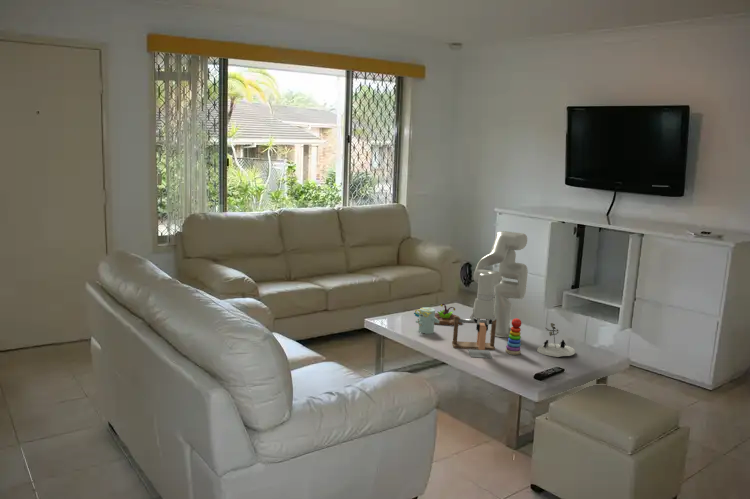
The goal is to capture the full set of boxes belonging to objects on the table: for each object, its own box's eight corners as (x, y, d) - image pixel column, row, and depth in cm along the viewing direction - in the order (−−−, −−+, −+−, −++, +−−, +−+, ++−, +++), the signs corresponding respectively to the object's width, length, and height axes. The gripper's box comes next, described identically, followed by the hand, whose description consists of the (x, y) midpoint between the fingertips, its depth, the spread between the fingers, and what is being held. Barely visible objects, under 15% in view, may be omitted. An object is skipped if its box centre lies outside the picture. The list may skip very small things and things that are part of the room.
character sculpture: (405, 329, 368) (406, 306, 365) (418, 326, 375) (420, 304, 373) (430, 338, 353) (432, 314, 351) (444, 334, 361) (445, 311, 359)
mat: (489, 351, 336) (489, 350, 336) (492, 358, 325) (492, 357, 325) (468, 350, 336) (468, 349, 336) (470, 357, 325) (470, 356, 325)
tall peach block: (482, 344, 333) (484, 322, 331) (484, 349, 326) (486, 327, 324) (476, 344, 334) (478, 322, 331) (478, 349, 326) (480, 327, 324)
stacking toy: (511, 356, 330) (515, 321, 327) (502, 351, 337) (505, 317, 334) (523, 354, 333) (527, 319, 330) (513, 349, 340) (516, 315, 337)
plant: (425, 316, 398) (426, 299, 396) (456, 317, 400) (457, 299, 398) (432, 326, 378) (433, 307, 376) (464, 326, 380) (465, 308, 378)
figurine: (578, 349, 343) (578, 320, 340) (570, 359, 327) (570, 328, 325) (541, 346, 353) (541, 317, 350) (532, 355, 337) (531, 325, 335)
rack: (492, 345, 346) (494, 316, 343) (494, 350, 338) (497, 320, 335) (452, 343, 346) (454, 314, 344) (453, 347, 338) (455, 318, 336)
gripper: (499, 296, 329) (496, 330, 332) (467, 294, 329) (465, 328, 332) (501, 299, 321) (498, 334, 324) (469, 297, 321) (466, 332, 325)
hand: (481, 331), depth 328 cm, fingers closed on tall peach block, 3 cm apart
